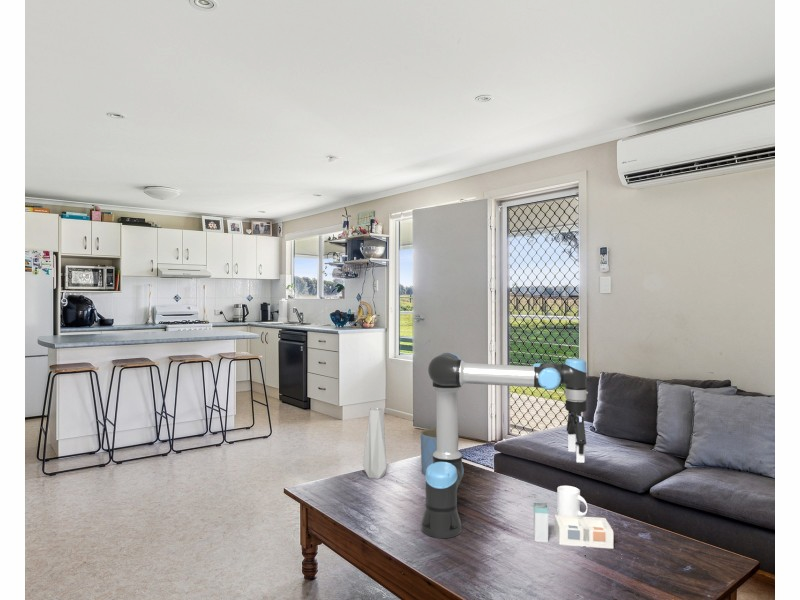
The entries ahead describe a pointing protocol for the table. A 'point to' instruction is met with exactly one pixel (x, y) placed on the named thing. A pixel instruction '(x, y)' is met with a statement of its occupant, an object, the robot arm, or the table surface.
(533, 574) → the table surface
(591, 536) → the socket box
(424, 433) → the planter
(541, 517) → the plug
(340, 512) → the table surface
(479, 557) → the table surface
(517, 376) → the robot arm
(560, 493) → the mug
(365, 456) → the vase
